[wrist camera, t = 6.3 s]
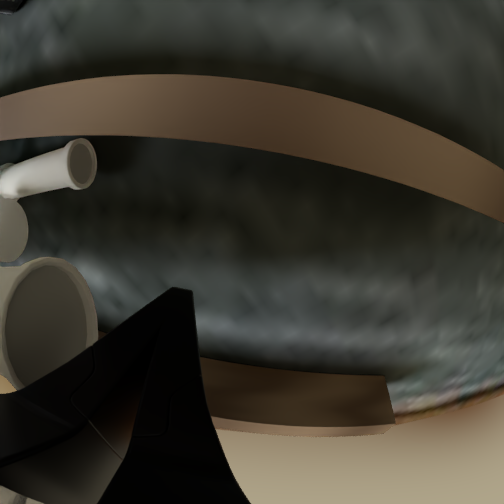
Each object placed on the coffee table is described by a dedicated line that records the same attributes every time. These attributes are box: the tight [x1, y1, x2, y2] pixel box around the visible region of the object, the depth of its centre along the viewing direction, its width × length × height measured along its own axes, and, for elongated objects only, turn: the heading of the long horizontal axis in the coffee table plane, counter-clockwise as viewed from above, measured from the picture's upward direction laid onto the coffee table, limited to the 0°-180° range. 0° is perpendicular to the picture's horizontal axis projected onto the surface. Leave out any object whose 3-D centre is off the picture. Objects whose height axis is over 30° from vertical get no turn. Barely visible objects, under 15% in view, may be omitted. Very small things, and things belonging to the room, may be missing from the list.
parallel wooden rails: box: [0, 74, 504, 437], centre depth 8 cm, size 21×12×3 cm, turn 81°
